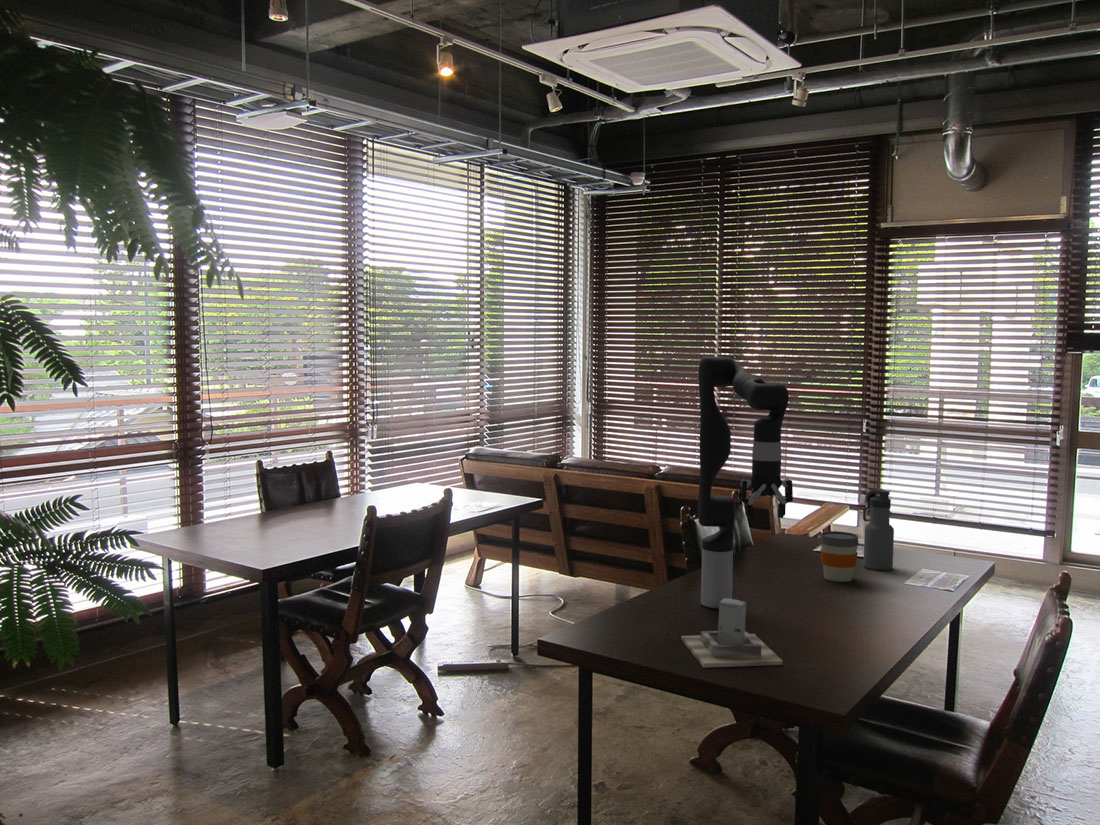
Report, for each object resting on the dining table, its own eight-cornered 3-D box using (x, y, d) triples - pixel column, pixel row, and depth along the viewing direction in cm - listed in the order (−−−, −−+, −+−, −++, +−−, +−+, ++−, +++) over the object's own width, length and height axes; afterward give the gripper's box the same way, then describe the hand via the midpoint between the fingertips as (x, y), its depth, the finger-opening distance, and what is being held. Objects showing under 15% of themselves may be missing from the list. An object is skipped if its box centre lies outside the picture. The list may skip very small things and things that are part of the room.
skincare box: (716, 648, 214) (717, 601, 213) (722, 643, 218) (723, 597, 217) (740, 652, 211) (741, 605, 210) (745, 647, 215) (746, 600, 214)
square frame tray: (681, 639, 223) (681, 626, 223) (753, 637, 225) (754, 624, 225) (703, 667, 203) (703, 653, 203) (782, 664, 205) (782, 650, 205)
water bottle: (856, 565, 304) (859, 489, 302) (876, 562, 308) (879, 487, 306) (878, 572, 295) (881, 493, 293) (898, 569, 299) (901, 491, 297)
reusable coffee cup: (862, 583, 280) (864, 539, 279) (825, 583, 280) (826, 538, 279) (850, 573, 292) (851, 531, 291) (814, 573, 293) (815, 530, 291)
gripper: (786, 456, 229) (785, 515, 230) (736, 456, 227) (734, 515, 228) (797, 459, 221) (796, 520, 222) (745, 460, 220) (744, 521, 221)
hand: (765, 517), depth 225 cm, fingers open, 8 cm apart
